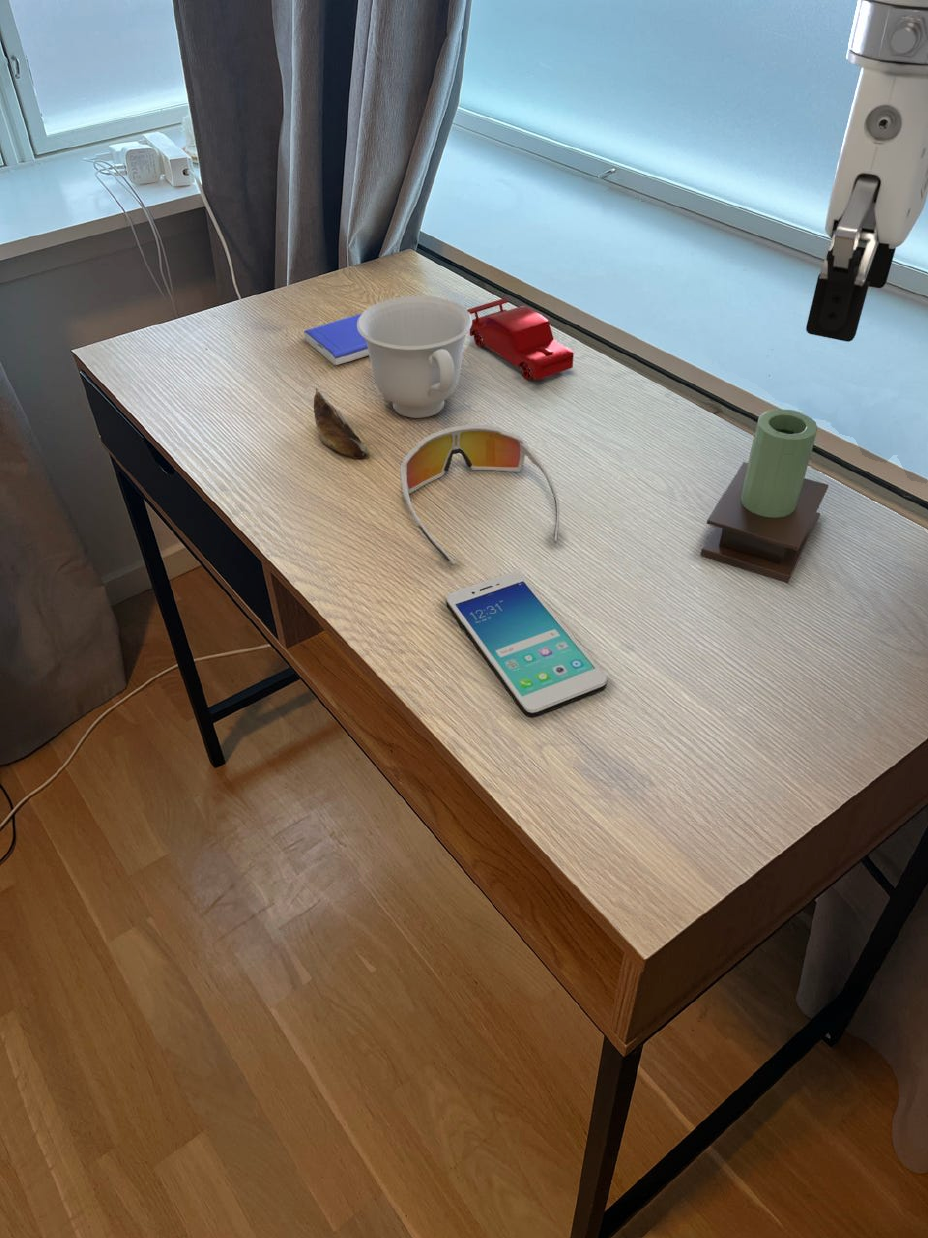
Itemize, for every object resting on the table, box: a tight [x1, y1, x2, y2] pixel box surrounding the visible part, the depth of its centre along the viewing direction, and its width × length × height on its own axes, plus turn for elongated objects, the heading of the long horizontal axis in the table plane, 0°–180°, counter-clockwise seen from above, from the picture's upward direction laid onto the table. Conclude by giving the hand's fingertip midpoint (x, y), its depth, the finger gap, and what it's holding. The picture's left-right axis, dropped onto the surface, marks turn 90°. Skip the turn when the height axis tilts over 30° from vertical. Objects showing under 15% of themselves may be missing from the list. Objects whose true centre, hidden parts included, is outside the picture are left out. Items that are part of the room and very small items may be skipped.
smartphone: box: [445, 571, 608, 718], centre depth 79 cm, size 8×1×15 cm
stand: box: [700, 461, 830, 584], centre depth 88 cm, size 8×10×4 cm
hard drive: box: [303, 312, 369, 366], centre depth 118 cm, size 2×8×12 cm
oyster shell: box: [313, 387, 370, 459], centre depth 101 cm, size 6×4×10 cm
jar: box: [741, 408, 818, 518], centre depth 84 cm, size 5×5×8 cm
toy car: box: [466, 297, 575, 381], centre depth 113 cm, size 14×6×5 cm, turn 34°
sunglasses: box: [399, 424, 560, 565], centre depth 92 cm, size 14×15×5 cm
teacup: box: [357, 295, 473, 419], centre depth 103 cm, size 12×15×10 cm
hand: (846, 308), depth 69 cm, fingers open, 9 cm apart
